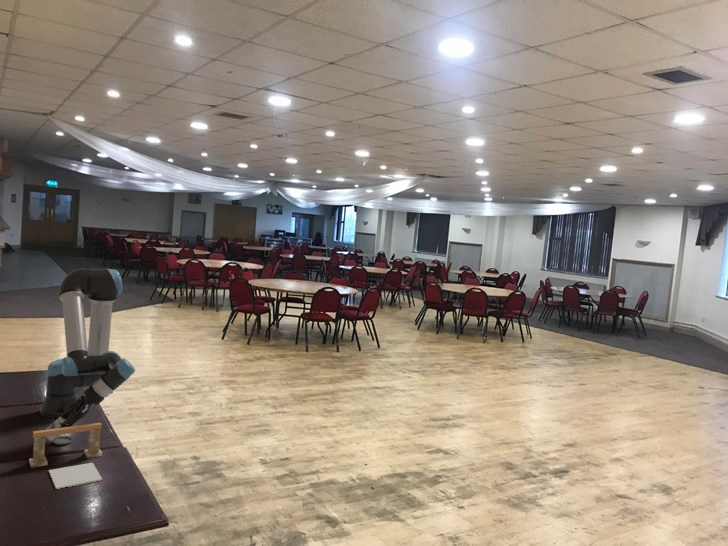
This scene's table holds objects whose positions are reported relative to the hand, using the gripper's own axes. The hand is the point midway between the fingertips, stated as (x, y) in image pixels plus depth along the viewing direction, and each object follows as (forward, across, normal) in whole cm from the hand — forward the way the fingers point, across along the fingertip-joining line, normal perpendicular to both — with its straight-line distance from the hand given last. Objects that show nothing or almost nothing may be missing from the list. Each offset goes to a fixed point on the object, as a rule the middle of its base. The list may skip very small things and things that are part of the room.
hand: (48, 435), depth 210 cm
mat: (-3, -30, -8) cm, 31 cm away
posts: (-2, -15, -7) cm, 16 cm away
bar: (-9, -15, 0) cm, 17 cm away
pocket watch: (0, 0, -5) cm, 5 cm away
